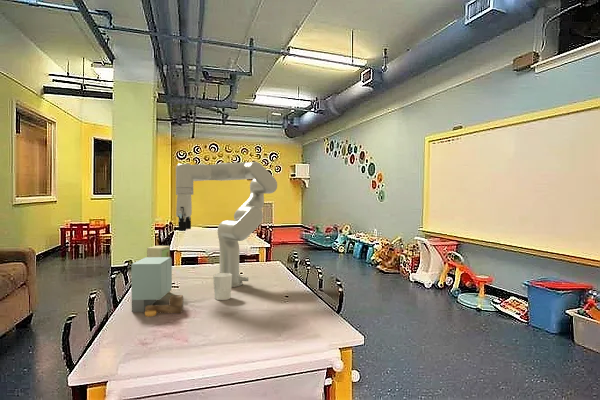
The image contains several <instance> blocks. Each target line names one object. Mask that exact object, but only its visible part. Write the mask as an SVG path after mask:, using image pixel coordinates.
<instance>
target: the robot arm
mask: <svg viewBox="0 0 600 400" xmlns="http://www.w3.org/2000/svg"><path fill="white" fill-rule="evenodd" d="M240 180H251V182H249V183H250V184H249V191H250V193H249V197H248V199H246V201H245V202H244V203H243V204H241V206H239V207H238V208H237V209H236V211H235V212H234V215H233V219H234V220H233V219H226V220H222V221H221V222H220V223H219V225H218V226H217V236H218V237H217V238H218V243H219V273H230V274H232V286H231V288H234V287H235V288H236V287H240V286H242V285H243V282H249V276H248V277H247V276H241V274H240V244H239V242H243V241H245V240H246V239H248V237H249V236H250V235H251V234H252V233H253V232H254V231H255V230H256V229H257V228H258V227H259V226H260V225H261V223H262V222H263V217H264V213H263V210H262V209H263V207H264V205H265V195H264V194H267V195H268V194H274V193H275V192H276V190H277V189H278V182H277V180H276V178H275V177H274V176H273V174H271V172H269V170H267V168H265V166H264V165H262V164H261V163H260V162H258V161H249V162H245V161H243V162H220V163H215V164H214V163H213V164H204V163H199V164H190V163H177V164H176V166H175V195H176V196H177V197H176V208H175V209H176V211H175V216H176V217H177V218H178V219H177V220H178V222H177V223H178V226H177V227H178V231H179V232H186V231H187V230H191V228H192V217H191V216H192V213H193V212H192V211H193V205H192V196H193V195H194V182H203V181H220V182H221V181H240Z"/></svg>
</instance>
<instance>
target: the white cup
mask: <svg viewBox="0 0 600 400" xmlns="http://www.w3.org/2000/svg"><path fill="white" fill-rule="evenodd" d="M212 277H213V279H212V280H213V282H212V283H213V293H214V294H213V295H214V299H215V300H216V301H227V300H229V299H231V297H232V287H231V286H232V274H230V273H220V272H219V273H214V274H213V276H212Z"/></svg>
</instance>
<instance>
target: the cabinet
mask: <svg viewBox="0 0 600 400" xmlns="http://www.w3.org/2000/svg"><path fill="white" fill-rule="evenodd" d="M172 261H173V259H172V257H171V256H170V257H147V256H146V257H143V258H142V259H140V260H136V261H135V262H133V263H131V265H130V266H131V277H130V278H131V312H132V313H137V312H138V313H143V312H144V313H145V307H146V306H147V305H154V303H156V302H157V300H161V299H162V298H164V297H165V296H166V295H167V294H169V293H170V292H169V291H171V290H172V289H173V281H172V280H173V276H172V275H173V273H172V272H173V268H172V266H173V265H172V264H173V263H172Z"/></svg>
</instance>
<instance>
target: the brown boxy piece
mask: <svg viewBox="0 0 600 400" xmlns="http://www.w3.org/2000/svg"><path fill="white" fill-rule="evenodd" d="M148 310H156V314H172V313H176V314H182V313H183V311H184V295H183V294H172V295H171V296H170V297H169V304H152V305H147V306H146V307H145V311H148ZM145 311H144V312H145Z"/></svg>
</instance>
